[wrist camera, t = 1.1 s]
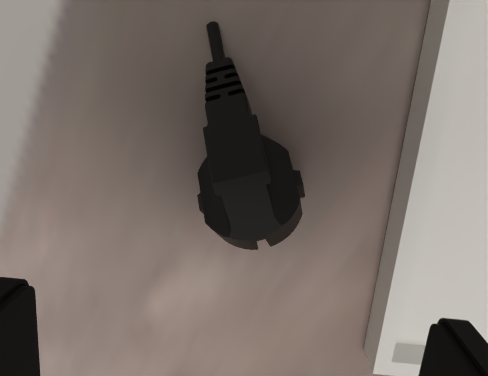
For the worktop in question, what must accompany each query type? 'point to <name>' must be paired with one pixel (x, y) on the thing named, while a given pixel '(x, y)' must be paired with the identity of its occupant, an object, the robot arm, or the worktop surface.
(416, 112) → the tray
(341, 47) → the worktop surface
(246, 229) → the power plug
